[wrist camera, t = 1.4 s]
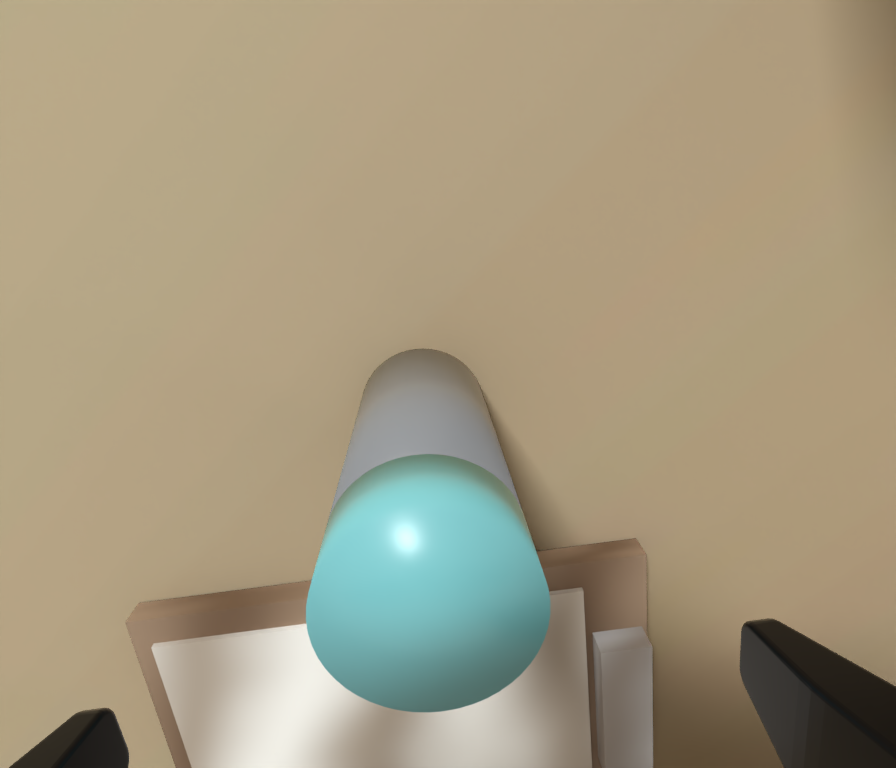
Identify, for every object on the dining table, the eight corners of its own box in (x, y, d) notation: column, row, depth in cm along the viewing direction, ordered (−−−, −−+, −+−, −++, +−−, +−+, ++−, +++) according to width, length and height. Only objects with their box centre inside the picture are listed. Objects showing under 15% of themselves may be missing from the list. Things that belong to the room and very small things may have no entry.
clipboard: (636, 538, 21) (658, 572, 19) (639, 781, 25) (658, 830, 23) (138, 603, 21) (110, 643, 19) (217, 838, 24) (201, 893, 22)
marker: (477, 341, 18) (543, 492, 9) (488, 455, 20) (557, 696, 10) (352, 356, 18) (282, 526, 9) (371, 470, 20) (329, 726, 10)
